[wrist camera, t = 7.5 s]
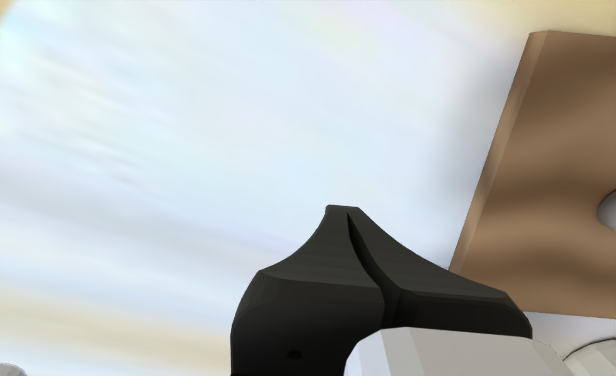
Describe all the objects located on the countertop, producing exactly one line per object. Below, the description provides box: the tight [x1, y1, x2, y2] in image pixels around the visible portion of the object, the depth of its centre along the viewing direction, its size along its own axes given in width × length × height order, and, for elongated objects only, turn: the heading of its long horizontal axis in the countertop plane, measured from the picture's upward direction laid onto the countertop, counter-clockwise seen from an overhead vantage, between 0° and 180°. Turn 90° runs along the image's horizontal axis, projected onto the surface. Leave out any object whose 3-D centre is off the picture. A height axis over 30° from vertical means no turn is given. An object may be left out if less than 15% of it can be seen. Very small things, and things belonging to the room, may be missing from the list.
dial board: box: [448, 30, 616, 319], centre depth 21 cm, size 20×18×2 cm
